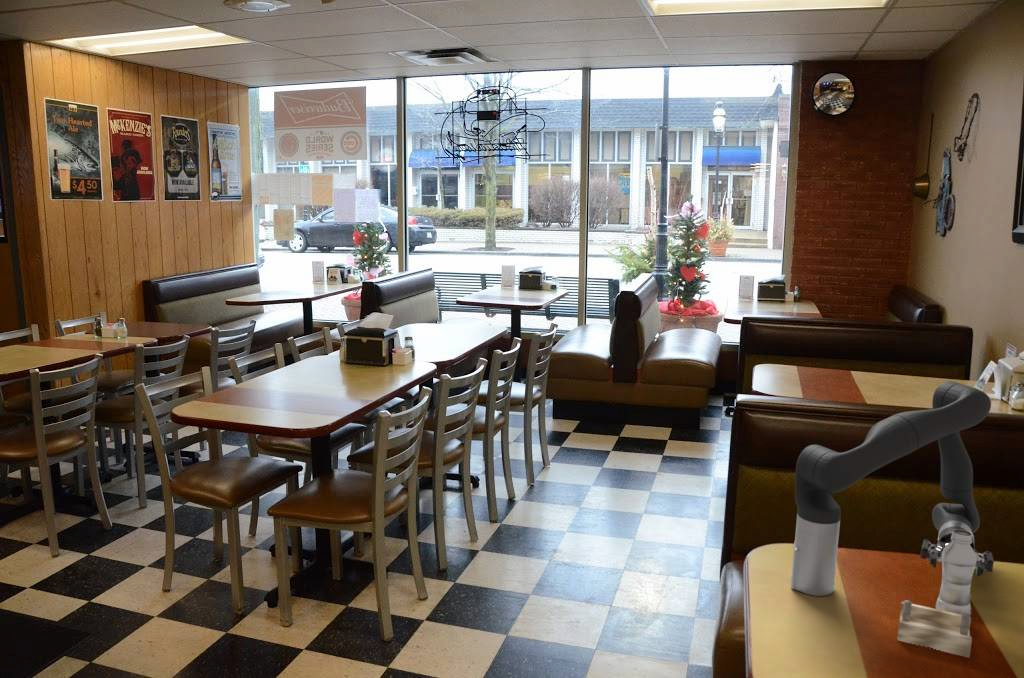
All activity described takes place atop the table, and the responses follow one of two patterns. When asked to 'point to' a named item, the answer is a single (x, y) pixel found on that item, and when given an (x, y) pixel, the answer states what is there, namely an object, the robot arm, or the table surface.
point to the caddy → (935, 629)
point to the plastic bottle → (957, 574)
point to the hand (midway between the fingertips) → (956, 567)
